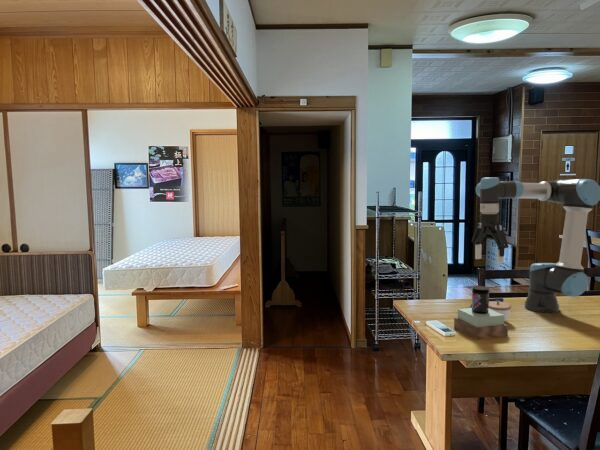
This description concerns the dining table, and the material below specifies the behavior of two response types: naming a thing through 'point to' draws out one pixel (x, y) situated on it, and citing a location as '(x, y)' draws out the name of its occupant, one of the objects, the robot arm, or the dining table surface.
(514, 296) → the dining table surface
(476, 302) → the supplement container
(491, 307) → the lidded jar
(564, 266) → the robot arm
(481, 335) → the walnut base block
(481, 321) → the sage top block
